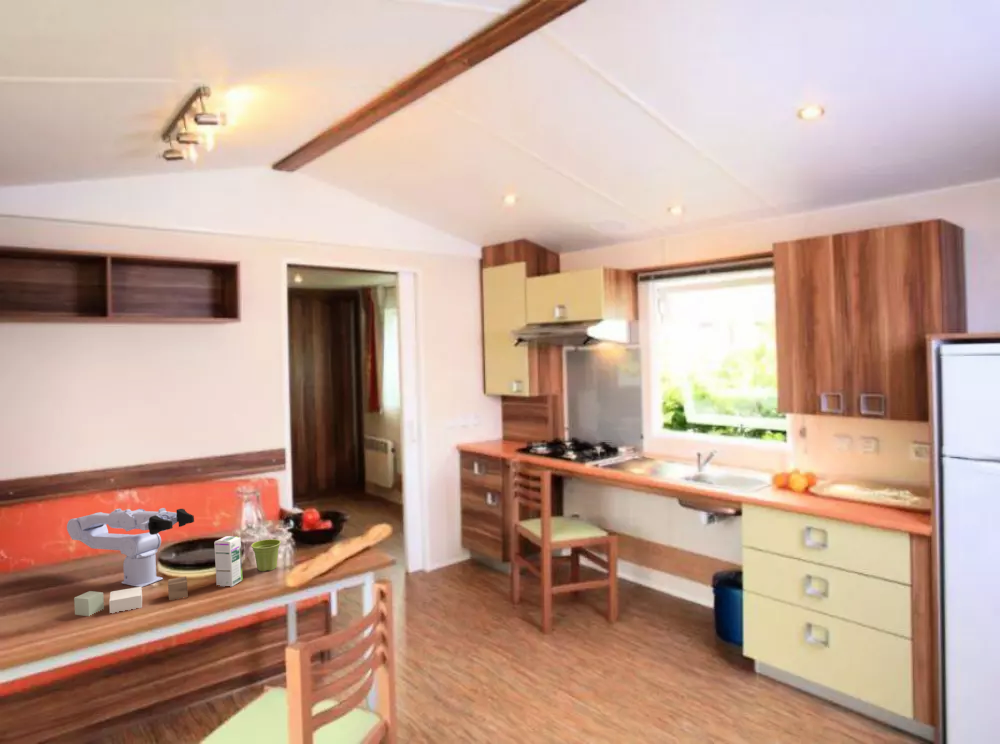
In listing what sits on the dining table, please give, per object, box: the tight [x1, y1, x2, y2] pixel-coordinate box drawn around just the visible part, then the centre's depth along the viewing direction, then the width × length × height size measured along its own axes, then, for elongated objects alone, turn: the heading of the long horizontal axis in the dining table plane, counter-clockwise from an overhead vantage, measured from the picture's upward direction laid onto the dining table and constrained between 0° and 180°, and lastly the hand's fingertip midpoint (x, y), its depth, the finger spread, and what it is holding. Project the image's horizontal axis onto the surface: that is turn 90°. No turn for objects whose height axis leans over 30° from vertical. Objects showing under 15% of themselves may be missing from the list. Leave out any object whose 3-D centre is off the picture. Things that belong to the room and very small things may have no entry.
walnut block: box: [167, 576, 189, 601], centre depth 196 cm, size 5×5×5 cm
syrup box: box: [214, 535, 244, 588], centre depth 206 cm, size 6×6×14 cm
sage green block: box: [73, 590, 105, 617], centre depth 185 cm, size 5×5×5 cm
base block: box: [108, 586, 143, 614], centre depth 189 cm, size 8×8×4 cm
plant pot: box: [250, 538, 282, 572], centre depth 219 cm, size 9×9×9 cm
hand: (182, 522), depth 199 cm, fingers open, 7 cm apart
